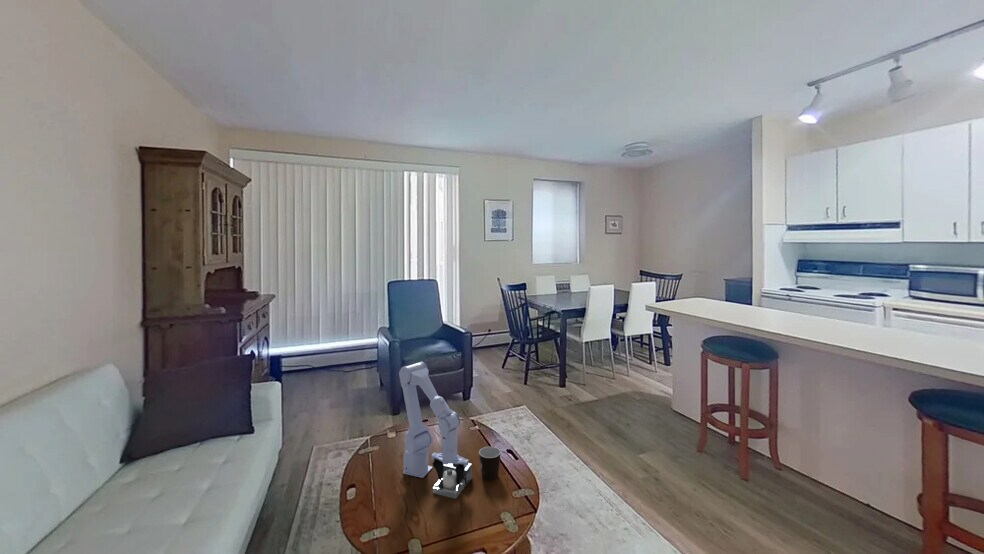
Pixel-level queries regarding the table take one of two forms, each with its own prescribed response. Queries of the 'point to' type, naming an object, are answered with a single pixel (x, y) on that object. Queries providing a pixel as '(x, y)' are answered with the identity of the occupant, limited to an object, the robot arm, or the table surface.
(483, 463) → the coffee mug
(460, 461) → the robot arm
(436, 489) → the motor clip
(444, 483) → the white bottle
